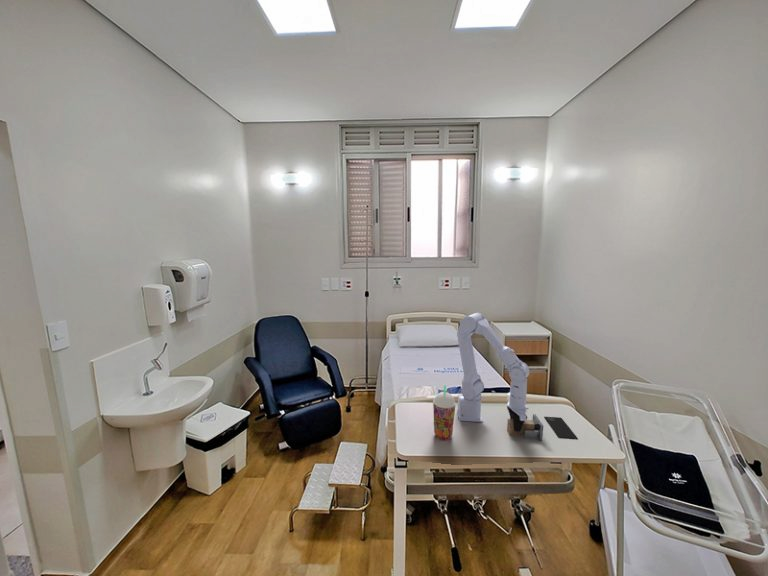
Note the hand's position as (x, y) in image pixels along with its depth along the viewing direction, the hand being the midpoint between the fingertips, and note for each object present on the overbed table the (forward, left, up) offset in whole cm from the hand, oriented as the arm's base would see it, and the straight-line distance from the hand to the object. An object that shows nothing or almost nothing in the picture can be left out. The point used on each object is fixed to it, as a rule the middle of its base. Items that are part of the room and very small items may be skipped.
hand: (515, 428), depth 122 cm
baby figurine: (+6, +20, -2) cm, 21 cm away
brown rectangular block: (+2, 0, -2) cm, 3 cm away
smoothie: (-28, -5, -2) cm, 29 cm away
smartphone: (+19, +6, -3) cm, 20 cm away
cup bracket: (+5, 0, -2) cm, 5 cm away
